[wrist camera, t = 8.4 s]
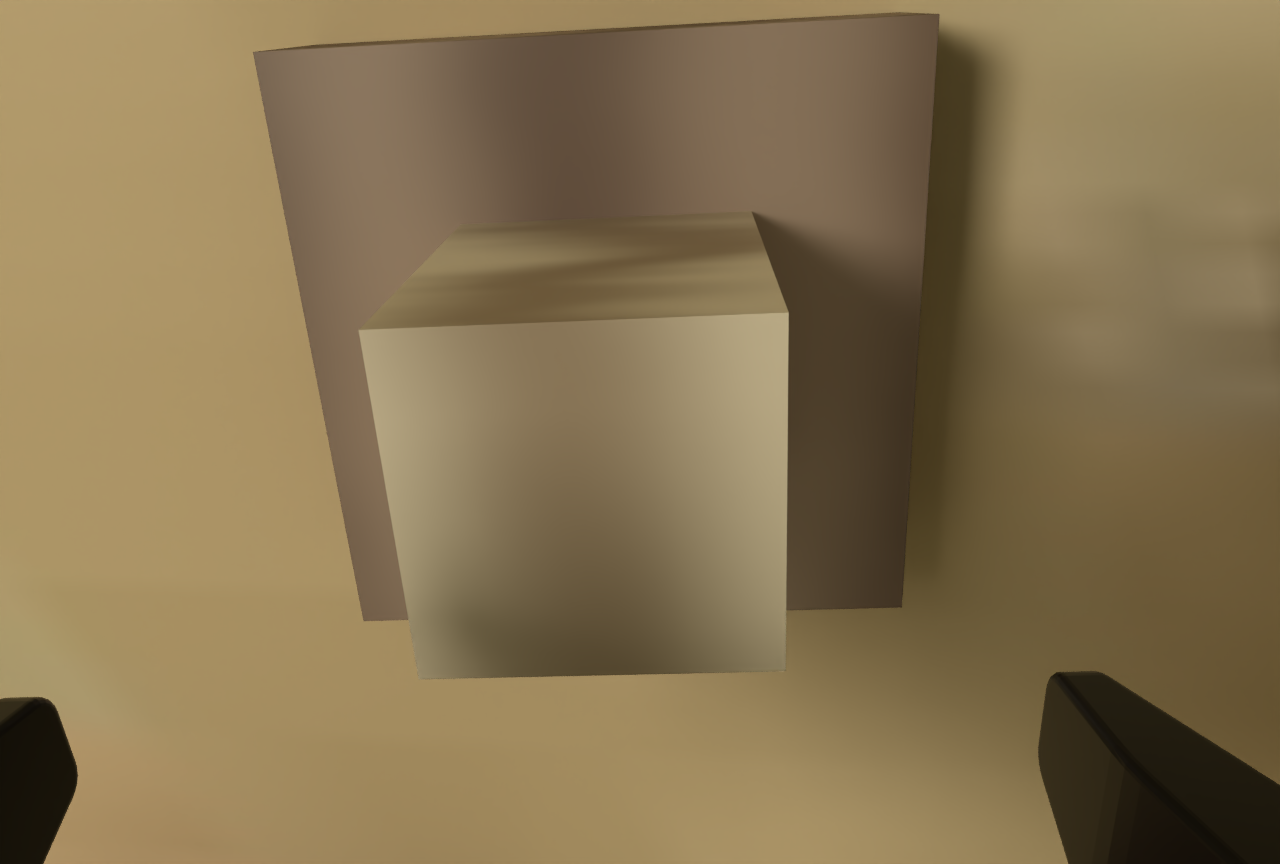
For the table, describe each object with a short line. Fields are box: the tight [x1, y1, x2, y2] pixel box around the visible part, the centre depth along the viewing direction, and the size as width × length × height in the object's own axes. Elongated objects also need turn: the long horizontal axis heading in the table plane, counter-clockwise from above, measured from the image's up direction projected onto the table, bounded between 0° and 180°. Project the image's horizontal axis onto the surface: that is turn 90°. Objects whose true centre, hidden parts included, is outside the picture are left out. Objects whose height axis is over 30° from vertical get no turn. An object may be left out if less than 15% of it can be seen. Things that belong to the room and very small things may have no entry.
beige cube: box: [359, 211, 789, 679], centre depth 15 cm, size 5×5×6 cm
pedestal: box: [253, 12, 939, 621], centre depth 19 cm, size 11×11×3 cm
